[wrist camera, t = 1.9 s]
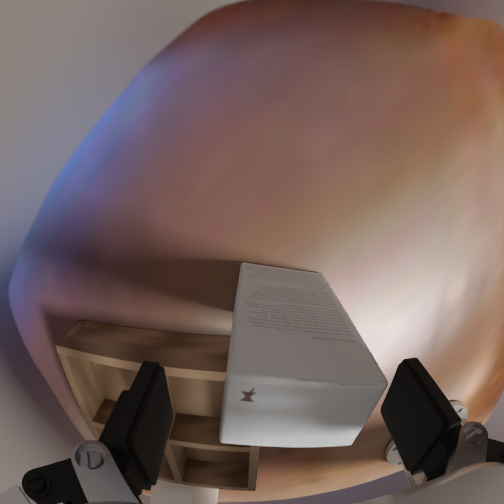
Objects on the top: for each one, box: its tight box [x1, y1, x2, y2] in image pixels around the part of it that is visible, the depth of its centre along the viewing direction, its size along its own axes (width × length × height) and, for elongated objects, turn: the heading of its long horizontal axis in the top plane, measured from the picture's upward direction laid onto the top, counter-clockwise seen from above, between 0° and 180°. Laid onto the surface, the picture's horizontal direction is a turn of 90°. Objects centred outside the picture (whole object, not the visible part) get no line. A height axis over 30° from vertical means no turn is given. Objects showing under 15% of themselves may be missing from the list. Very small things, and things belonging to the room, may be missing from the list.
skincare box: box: [219, 262, 388, 448], centre depth 15 cm, size 6×4×12 cm
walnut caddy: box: [55, 320, 260, 491], centre depth 22 cm, size 16×18×4 cm
